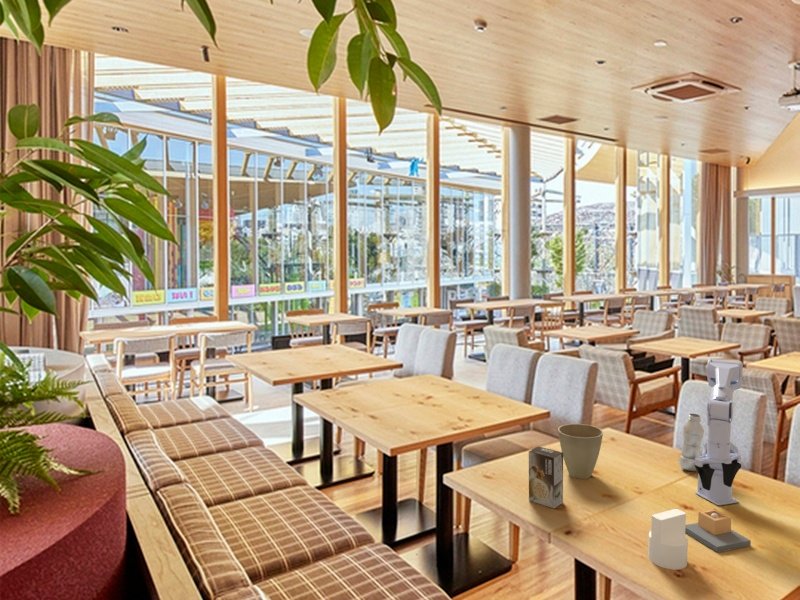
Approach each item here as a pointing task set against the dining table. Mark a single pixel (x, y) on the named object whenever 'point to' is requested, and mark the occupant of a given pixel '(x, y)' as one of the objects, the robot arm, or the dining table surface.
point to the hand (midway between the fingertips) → (716, 487)
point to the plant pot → (580, 448)
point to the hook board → (717, 538)
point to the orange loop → (714, 522)
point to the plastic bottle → (691, 442)
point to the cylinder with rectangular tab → (668, 540)
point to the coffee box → (546, 477)
